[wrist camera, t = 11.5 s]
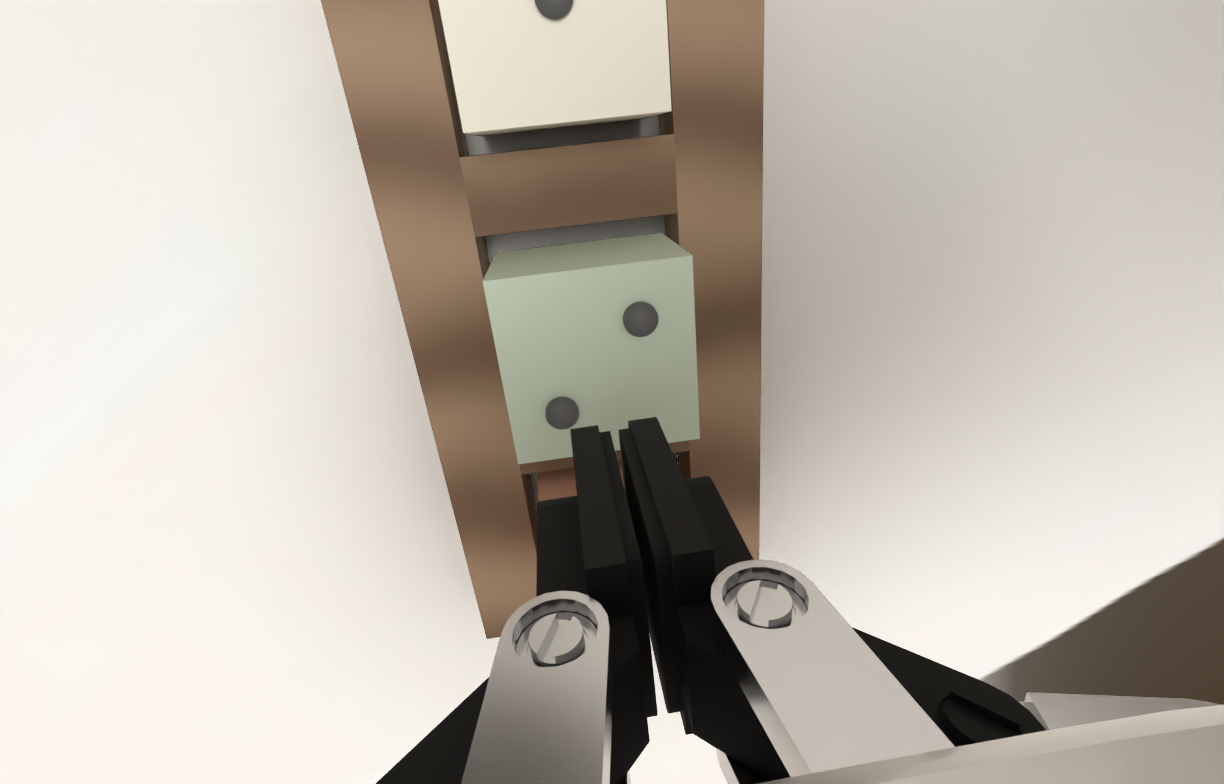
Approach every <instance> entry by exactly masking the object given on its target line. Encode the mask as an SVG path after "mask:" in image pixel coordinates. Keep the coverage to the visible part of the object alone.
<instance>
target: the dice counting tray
mask: <svg viewBox="0 0 1224 784" xmlns="http://www.w3.org/2000/svg"><path fill="white" fill-rule="evenodd" d="M321 3H322V7H323V10H324V14H325V18H326V22H327V26H328V30H329V33H330V37H331V41H332V45H333V49H334V53H335V57H336V60H337V64H338V68H339V72H340V76H341V80H342V83H343V87H344V91H345V95H346V99H347V103H348V107H349V110H350V114H351V118H352V122H353V126H354V130H355V133H356V137H357V141H358V145H359V149H360V153H361V157H362V160H363V164H364V168H365V172H366V176H367V180H368V184H369V187H370V191H371V195H372V199H373V203H374V207H375V210H376V214H377V218H378V222H379V226H380V230H381V234H382V237H383V241H384V245H385V249H386V253H387V257H388V260H389V264H390V268H391V272H392V276H393V280H394V284H395V287H396V291H397V295H398V299H399V303H400V307H401V310H402V314H403V318H404V322H405V326H406V330H407V334H408V337H409V341H410V345H411V349H412V353H413V357H414V360H415V364H416V368H417V372H418V376H419V380H420V384H421V387H422V391H423V395H424V399H425V403H426V407H427V410H428V414H429V418H430V422H431V426H432V430H433V434H434V437H435V441H436V445H437V449H438V453H439V457H440V460H441V464H442V468H443V472H444V476H445V480H446V484H447V487H448V491H449V495H450V499H451V503H452V507H453V510H454V514H455V518H456V522H457V526H458V530H459V534H460V537H461V541H462V545H463V549H464V553H465V557H466V561H467V564H468V568H469V572H470V576H471V580H472V584H473V587H474V591H475V595H476V599H477V603H478V607H479V611H480V614H481V618H482V622H483V626H484V630H485V634H486V637H487V639H489V638H495V637H500V636H501V633H502V631H503V628H504V626H505V624H506V622H507V620H508V619H509V617H510V616H511V615H512V614H513V613H514V612H515V611H516V610H517V608H519V607H520V606H522V605H523V604H525V603H526V602H527V601H529V600H530V599H533V598H535V597H536V583H537V516H536V510H535V505H534V500H533V494H532V489H531V484H530V478H529V474H530V473H537V472H544V471H551V470H558V469H565V468H572V467H574V462H573V457H567V458H560V459H553V460H546V461H539V462H532V463H525V464H518V461H517V456H516V450H515V445H514V440H513V435H512V430H511V425H510V420H509V415H508V409H507V404H506V399H505V394H504V389H503V384H502V379H501V374H500V368H499V363H498V358H497V353H496V348H495V343H494V338H493V333H492V327H491V322H490V317H489V312H488V307H487V302H486V297H485V292H484V286H483V279H484V277H485V275H486V273H487V271H488V268H489V266H490V265H489V260H488V255H487V249H486V244H485V239H484V236H488V235H496V234H505V233H513V232H522V231H530V230H539V229H547V228H556V227H564V226H573V225H581V224H590V223H598V222H607V221H615V220H624V219H632V218H641V217H649V216H658V215H665V232H666V236H667V237H668V238H669V239H671V240H672V241H674V242H675V243H676V244H678V245H679V246H680V247H682V248H683V249H684V250H686V251H687V252H688V253H690V254H691V255H692V256H693V280H694V305H695V329H696V354H697V379H698V403H699V428H700V439H694V440H687V441H680V442H673V443H668V444H669V446H670V449H671V451H672V453H677V452H679V469H680V472H681V474H682V476H683V479H690V478H696V477H703V476H709V477H710V478H711V479H712V481H713V482H714V484H715V486H716V488H717V490H718V492H719V494H720V496H721V498H722V500H723V502H724V504H725V505H726V507H727V509H728V511H729V513H730V515H731V517H732V519H733V521H734V523H735V525H736V527H737V529H738V530H739V532H740V534H741V536H742V538H743V540H744V542H745V544H746V546H747V548H748V550H749V552H750V554H751V555H752V557H753V559H754V560H759V506H760V396H761V286H762V175H763V65H764V0H666V10H667V30H668V50H669V70H670V89H671V109H672V111H669V112H666V113H662V114H659V130H660V135H659V136H650V137H641V138H632V139H623V140H613V141H604V142H595V143H586V144H577V145H568V146H559V147H549V148H540V149H531V150H522V151H513V152H504V153H495V154H485V155H476V156H469V154H468V148H467V143H466V138H465V133H463V130H462V124H461V119H460V114H459V108H458V103H457V98H456V92H455V87H454V82H453V77H452V71H451V66H450V61H449V55H448V50H447V45H446V40H445V34H444V29H443V24H442V18H441V13H440V8H439V2H438V0H321ZM615 453H616V457H617V461H621V451H620V450H616V451H615Z"/></svg>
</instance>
